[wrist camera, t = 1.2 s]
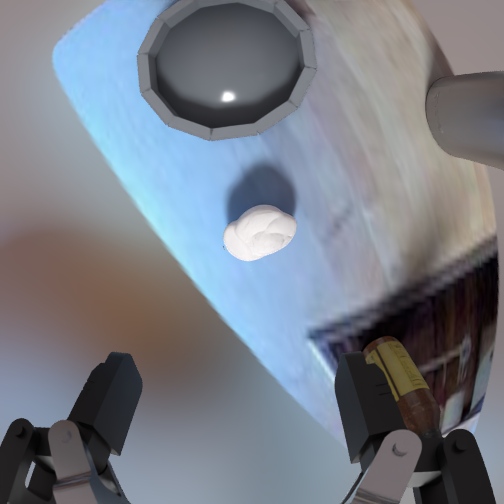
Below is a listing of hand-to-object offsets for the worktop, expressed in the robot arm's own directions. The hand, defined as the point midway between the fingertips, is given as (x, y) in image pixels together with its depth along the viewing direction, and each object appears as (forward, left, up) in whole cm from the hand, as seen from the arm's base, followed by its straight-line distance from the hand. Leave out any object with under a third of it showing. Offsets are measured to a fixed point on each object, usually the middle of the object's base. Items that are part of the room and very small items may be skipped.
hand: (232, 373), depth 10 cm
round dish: (0, -15, -19) cm, 24 cm away
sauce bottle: (-16, +20, -19) cm, 32 cm away
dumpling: (-1, +1, -19) cm, 19 cm away
